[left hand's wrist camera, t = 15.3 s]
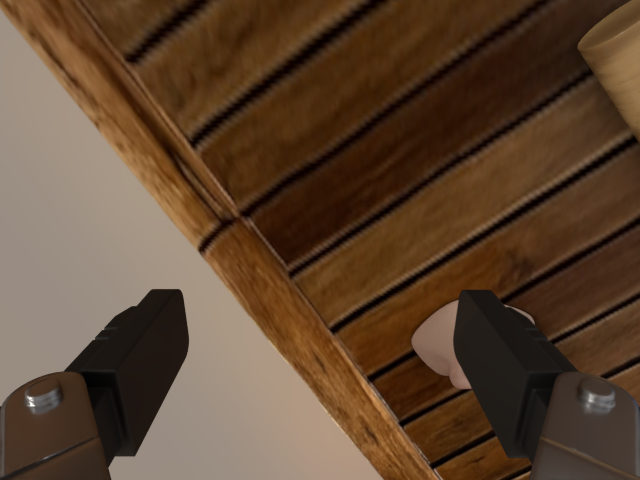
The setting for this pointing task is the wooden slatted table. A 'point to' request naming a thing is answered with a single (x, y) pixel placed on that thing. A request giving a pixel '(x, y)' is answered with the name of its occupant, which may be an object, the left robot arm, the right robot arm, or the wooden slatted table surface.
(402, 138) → the wooden slatted table surface
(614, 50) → the rod
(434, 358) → the anatomical model
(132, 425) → the left robot arm
